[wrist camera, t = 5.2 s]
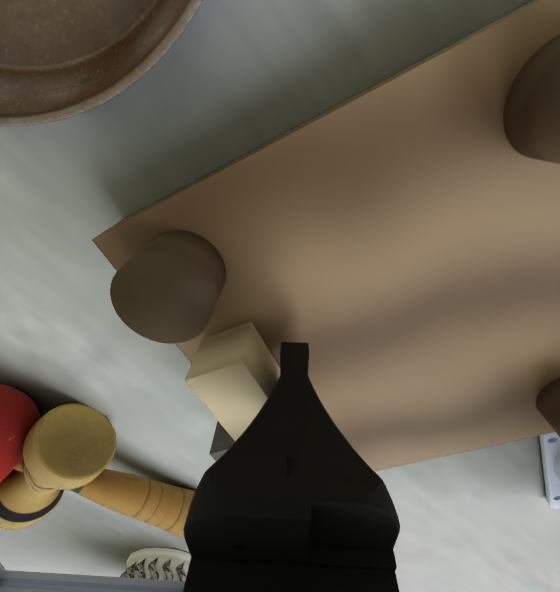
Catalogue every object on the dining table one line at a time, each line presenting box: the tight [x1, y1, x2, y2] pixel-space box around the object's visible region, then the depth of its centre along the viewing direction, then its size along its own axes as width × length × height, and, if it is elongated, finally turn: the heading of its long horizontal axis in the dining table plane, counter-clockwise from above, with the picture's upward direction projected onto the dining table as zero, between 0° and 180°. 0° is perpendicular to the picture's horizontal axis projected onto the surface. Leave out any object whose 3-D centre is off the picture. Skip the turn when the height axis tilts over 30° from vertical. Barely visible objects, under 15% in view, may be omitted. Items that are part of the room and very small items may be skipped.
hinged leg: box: [185, 322, 280, 441], centre depth 15 cm, size 11×3×2 cm, turn 25°
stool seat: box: [92, 0, 560, 471], centre depth 13 cm, size 18×18×5 cm
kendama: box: [0, 384, 195, 537], centre depth 21 cm, size 8×6×18 cm
